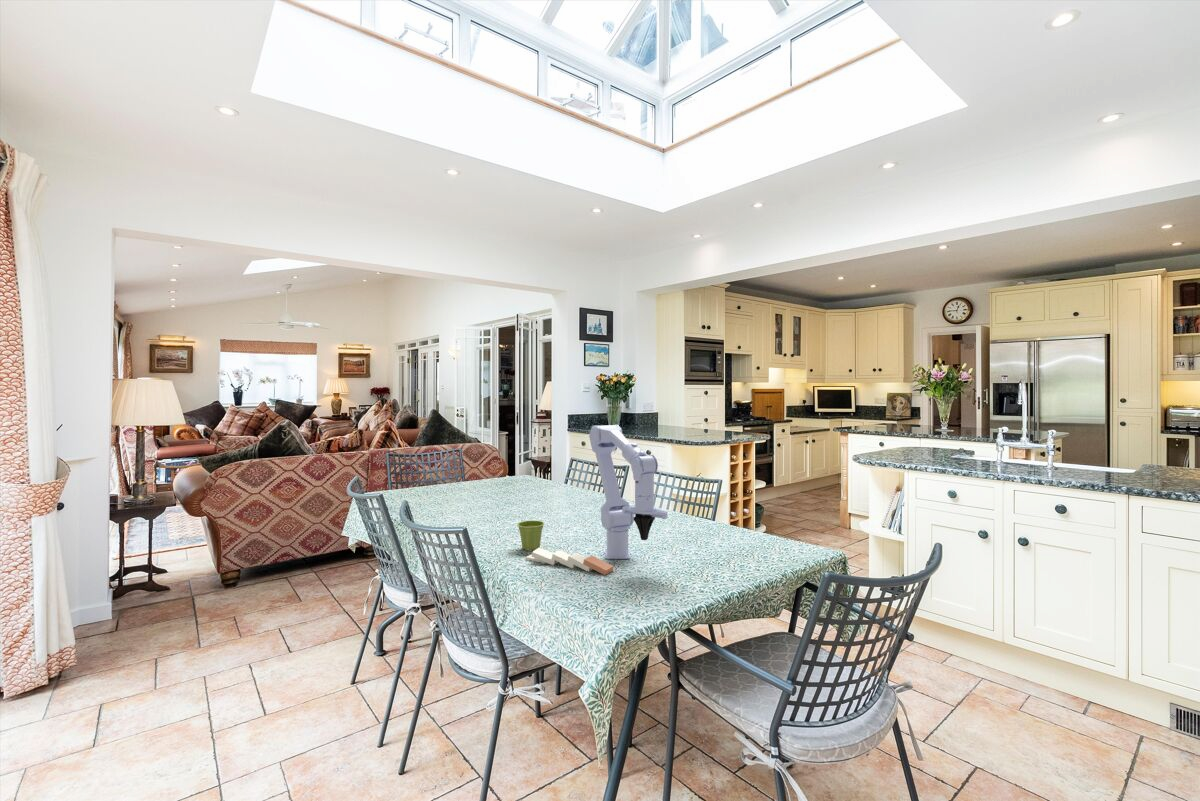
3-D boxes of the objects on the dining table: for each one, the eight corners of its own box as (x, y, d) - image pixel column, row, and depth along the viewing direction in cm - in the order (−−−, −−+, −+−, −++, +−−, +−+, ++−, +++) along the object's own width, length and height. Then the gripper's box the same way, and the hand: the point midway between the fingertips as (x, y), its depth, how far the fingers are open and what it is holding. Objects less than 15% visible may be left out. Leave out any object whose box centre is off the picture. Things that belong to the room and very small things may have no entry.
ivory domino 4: (588, 572, 163) (567, 560, 167) (596, 567, 167) (575, 557, 171) (589, 567, 163) (568, 556, 167) (597, 563, 167) (576, 552, 171)
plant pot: (515, 552, 183) (514, 526, 183) (520, 544, 192) (519, 520, 192) (542, 552, 183) (542, 527, 182) (546, 544, 192) (546, 520, 192)
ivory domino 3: (572, 568, 166) (551, 558, 170) (579, 564, 170) (559, 554, 174) (573, 564, 166) (552, 553, 169) (580, 559, 170) (560, 550, 173)
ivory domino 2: (553, 565, 169) (531, 556, 172) (559, 560, 173) (537, 551, 176) (554, 560, 169) (532, 551, 171) (560, 556, 173) (538, 547, 175)
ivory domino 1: (545, 565, 171) (525, 561, 175) (553, 561, 175) (534, 558, 179) (545, 560, 171) (525, 556, 175) (553, 557, 175) (534, 553, 179)
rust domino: (605, 575, 160) (583, 564, 164) (612, 570, 164) (590, 560, 168) (606, 570, 160) (584, 559, 164) (613, 566, 164) (591, 555, 167)
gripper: (671, 495, 164) (671, 539, 164) (629, 490, 172) (629, 533, 172) (661, 499, 158) (661, 545, 158) (618, 494, 165) (618, 538, 166)
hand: (644, 539), depth 165 cm, fingers closed
